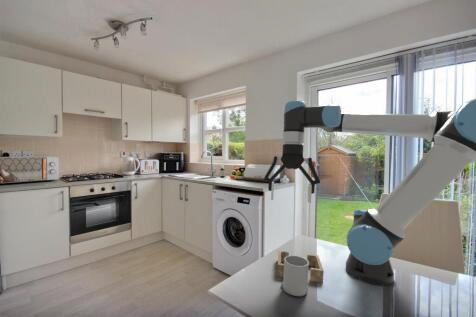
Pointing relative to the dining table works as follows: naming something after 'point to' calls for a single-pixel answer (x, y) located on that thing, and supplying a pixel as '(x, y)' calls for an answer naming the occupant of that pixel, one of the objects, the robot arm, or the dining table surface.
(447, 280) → the dining table surface
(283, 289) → the coaster
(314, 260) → the wooden brackets
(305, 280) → the cup
